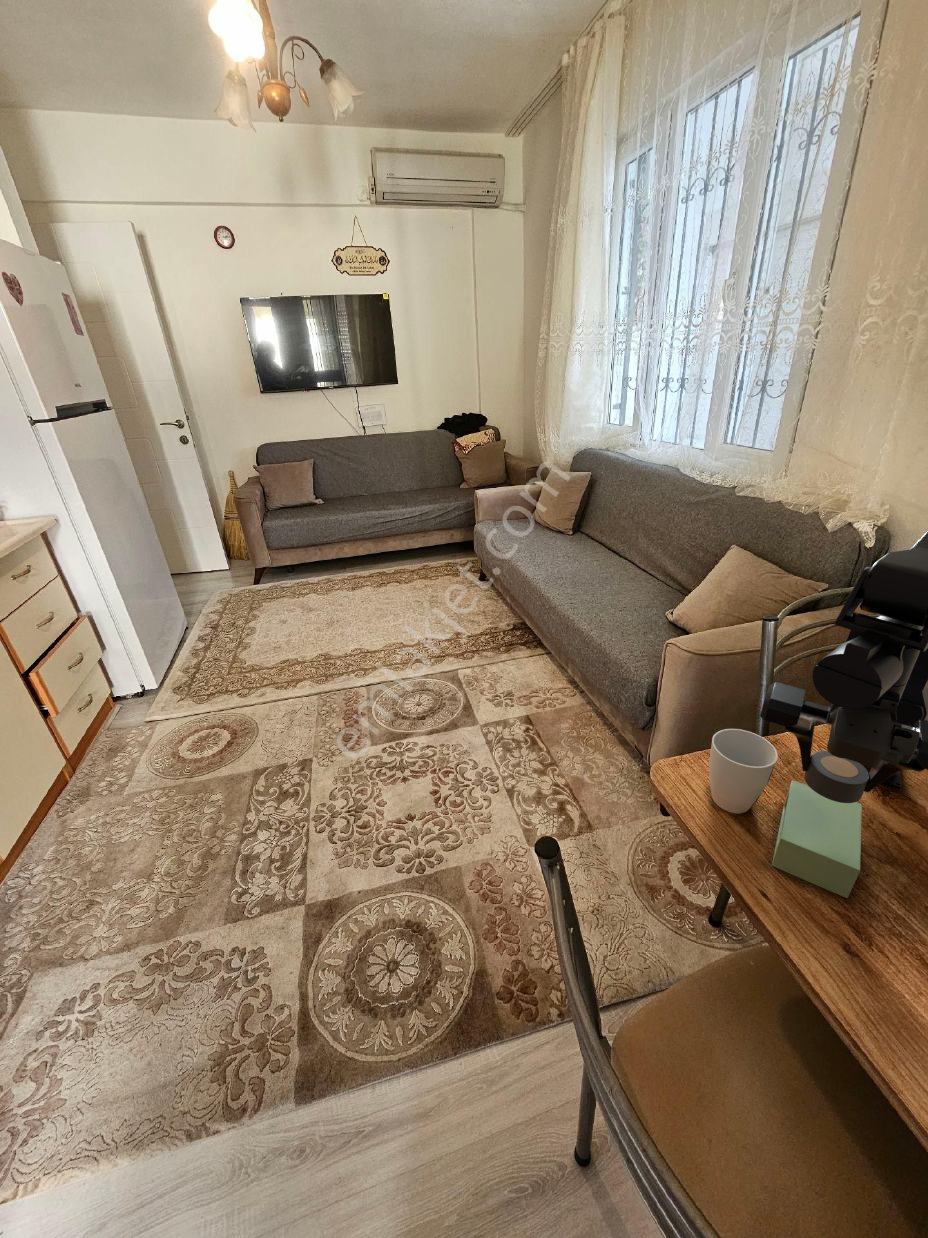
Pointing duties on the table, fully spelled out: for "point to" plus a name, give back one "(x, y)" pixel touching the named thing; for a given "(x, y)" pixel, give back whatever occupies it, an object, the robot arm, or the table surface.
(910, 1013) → the table surface
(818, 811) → the sage green box
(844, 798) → the tape
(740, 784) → the cup
